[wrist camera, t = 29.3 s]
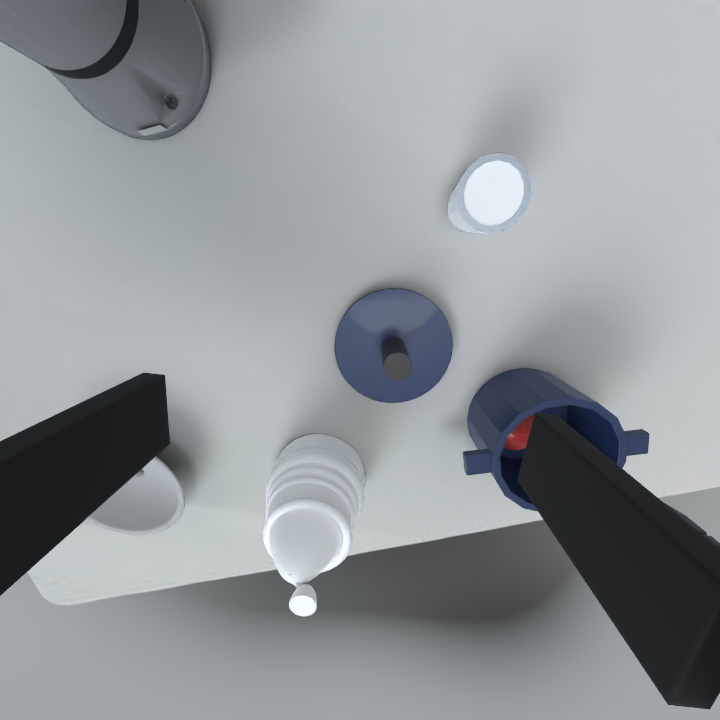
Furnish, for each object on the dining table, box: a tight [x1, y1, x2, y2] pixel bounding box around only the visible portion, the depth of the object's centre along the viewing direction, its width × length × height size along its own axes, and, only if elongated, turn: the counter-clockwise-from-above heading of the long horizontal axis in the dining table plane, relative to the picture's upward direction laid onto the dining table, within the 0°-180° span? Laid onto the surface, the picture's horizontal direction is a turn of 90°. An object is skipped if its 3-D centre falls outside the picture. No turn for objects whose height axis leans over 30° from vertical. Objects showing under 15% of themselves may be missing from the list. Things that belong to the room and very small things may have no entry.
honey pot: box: [263, 434, 365, 616], centre depth 40 cm, size 13×13×18 cm
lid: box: [335, 288, 452, 403], centre depth 38 cm, size 15×15×9 cm
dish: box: [86, 457, 185, 535], centre depth 46 cm, size 18×14×5 cm
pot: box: [463, 369, 649, 511], centre depth 40 cm, size 14×19×10 cm
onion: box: [504, 415, 534, 450], centre depth 40 cm, size 6×6×8 cm
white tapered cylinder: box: [447, 152, 531, 233], centre depth 34 cm, size 7×7×7 cm
